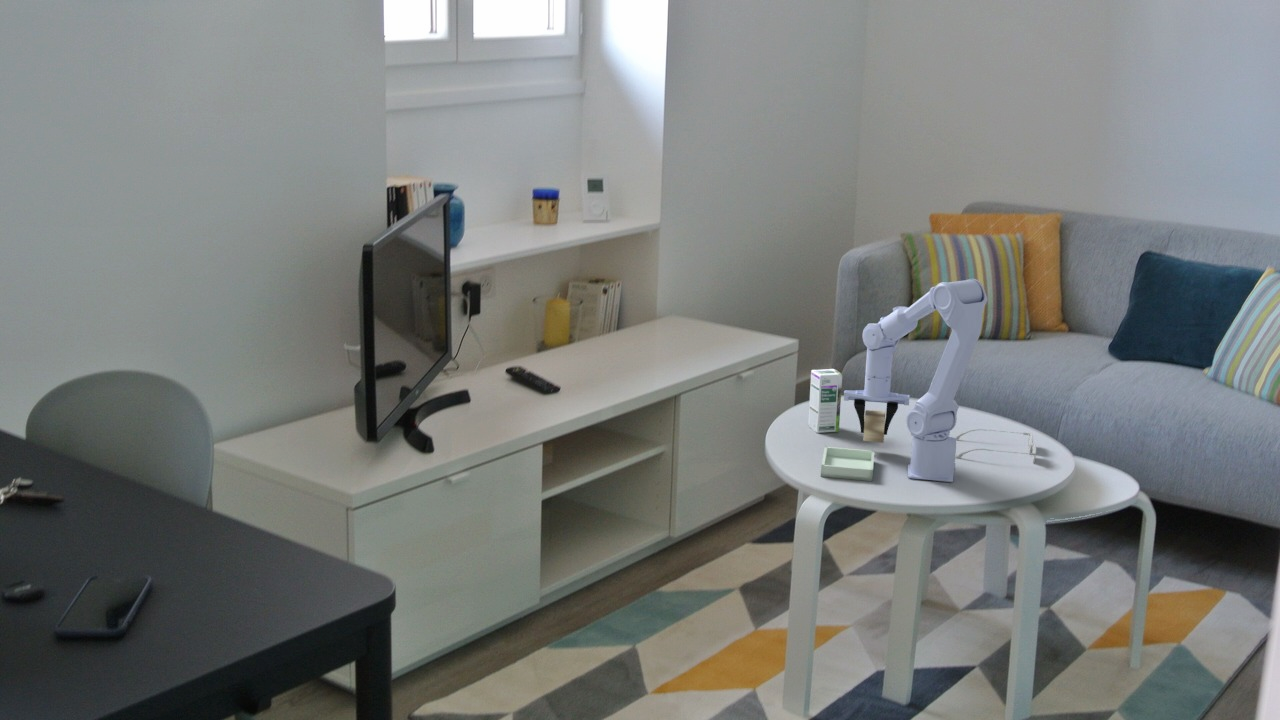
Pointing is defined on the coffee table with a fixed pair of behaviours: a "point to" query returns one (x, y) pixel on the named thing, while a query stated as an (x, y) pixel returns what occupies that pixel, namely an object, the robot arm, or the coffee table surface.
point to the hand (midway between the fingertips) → (873, 432)
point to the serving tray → (847, 463)
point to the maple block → (874, 426)
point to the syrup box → (825, 400)
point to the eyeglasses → (1030, 446)
